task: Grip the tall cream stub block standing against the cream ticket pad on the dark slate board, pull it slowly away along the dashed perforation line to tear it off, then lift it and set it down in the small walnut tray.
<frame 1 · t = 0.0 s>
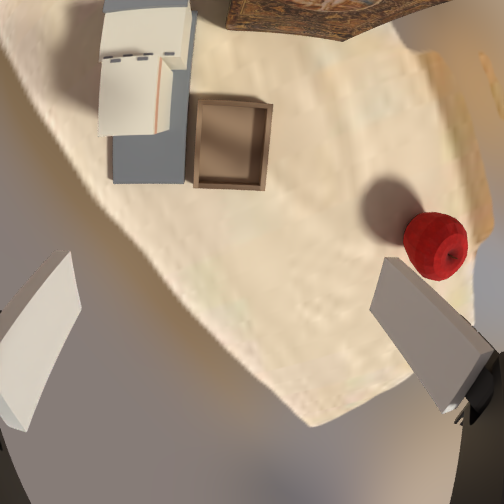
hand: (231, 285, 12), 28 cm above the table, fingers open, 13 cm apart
ticket pad: (155, 43, 29), resting on board
book: (290, 16, 30), on the table
stub: (150, 101, 32), point 1 cm above the table, touching board
tray: (231, 143, 36), on the table
apple: (414, 230, 45), on the table
board: (152, 94, 32), on the table
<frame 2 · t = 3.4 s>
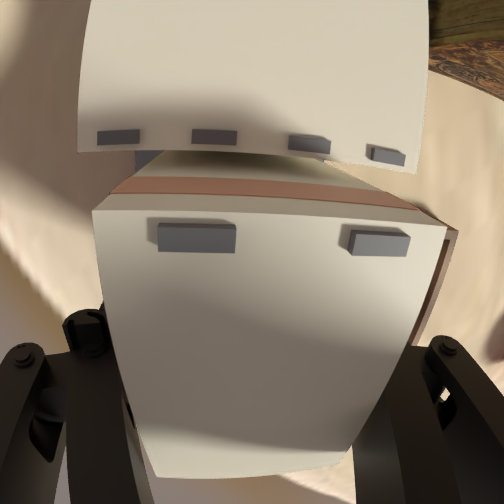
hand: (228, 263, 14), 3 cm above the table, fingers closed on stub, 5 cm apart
ticket pad: (239, 62, 12), resting on board
book: (474, 54, 14), on the table
stub: (227, 214, 15), point 1 cm above the table, touching board, gripper
tray: (372, 289, 20), on the table
board: (227, 191, 16), on the table
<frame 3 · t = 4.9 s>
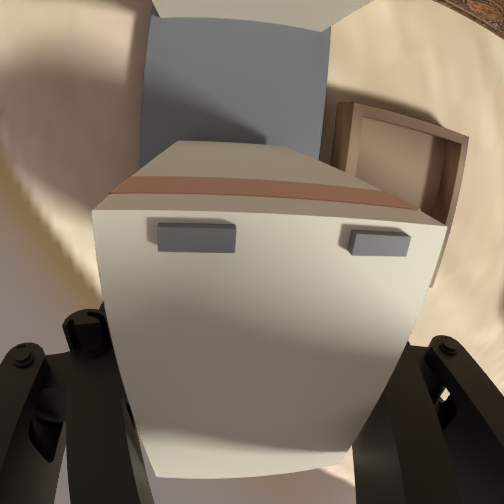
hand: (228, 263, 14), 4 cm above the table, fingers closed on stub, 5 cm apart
stub: (227, 214, 15), point 2 cm above the table, touching gripper
tray: (387, 199, 18), on the table
board: (235, 77, 14), on the table
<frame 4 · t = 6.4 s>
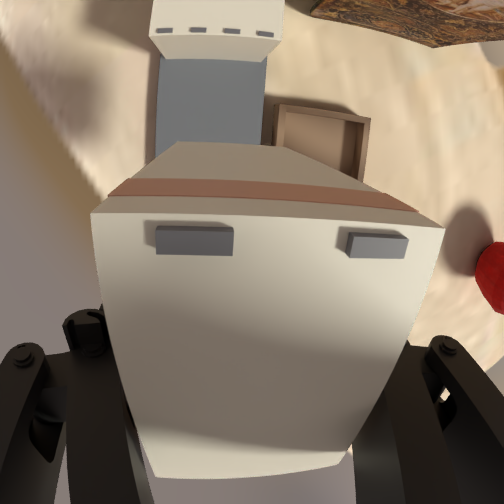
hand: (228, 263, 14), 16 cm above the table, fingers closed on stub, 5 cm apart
ticket pad: (216, 23, 21), resting on board
book: (379, 10, 22), on the table
stub: (227, 215, 15), point 14 cm above the table, touching gripper
tray: (314, 164, 28), on the table
apple: (483, 259, 37), on the table
board: (210, 93, 24), on the table
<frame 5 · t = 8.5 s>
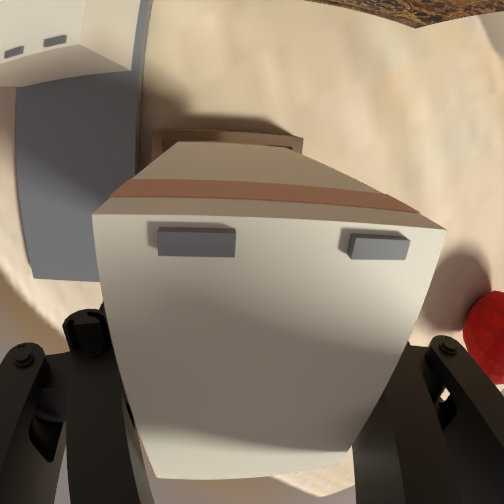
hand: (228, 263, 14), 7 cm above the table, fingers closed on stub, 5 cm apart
ticket pad: (77, 26, 13), resting on board
stub: (227, 215, 15), point 5 cm above the table, touching gripper
tray: (221, 210, 20), on the table
apple: (475, 309, 29), on the table
board: (76, 122, 16), on the table
when the fingers open (4 cm above the table, at t = 9.9 s): stub stays where it is, resting on tray.
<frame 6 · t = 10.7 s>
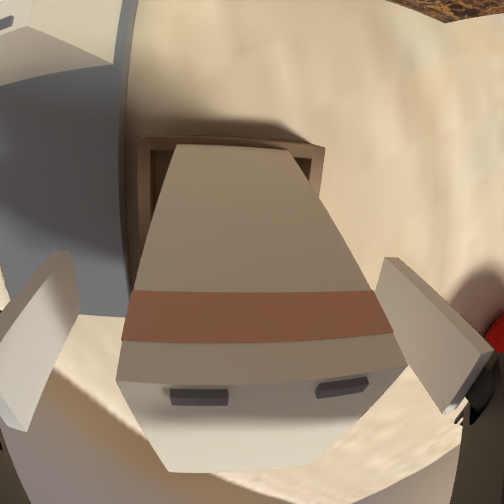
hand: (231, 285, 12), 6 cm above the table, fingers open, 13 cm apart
ticket pad: (52, 15, 9), resting on board
stub: (227, 213, 15), point 1 cm above the table, tilted 13°, touching tray
tray: (224, 233, 17), on the table
apple: (493, 328, 26), on the table
board: (51, 128, 13), on the table
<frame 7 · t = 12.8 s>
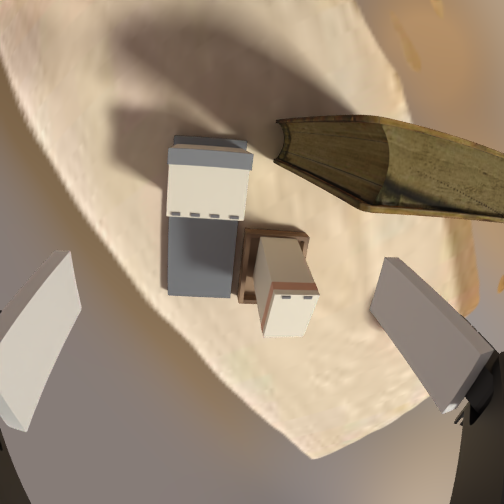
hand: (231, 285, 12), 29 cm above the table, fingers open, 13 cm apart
ticket pad: (207, 173, 37), resting on board
book: (330, 145, 40), on the table
stub: (274, 258, 43), point 1 cm above the table, tilted 13°, touching tray
tray: (270, 265, 45), on the table
board: (203, 220, 41), on the table
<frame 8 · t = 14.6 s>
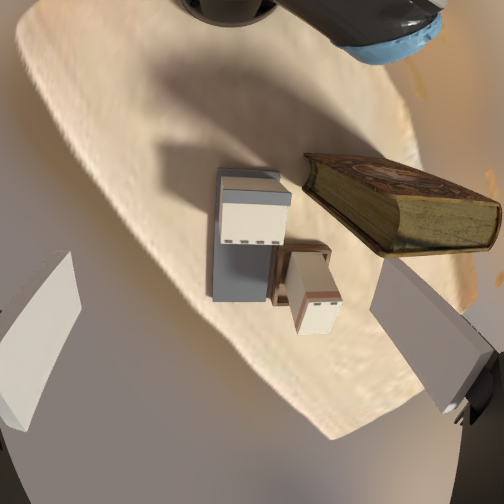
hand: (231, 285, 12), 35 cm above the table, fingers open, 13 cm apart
ticket pad: (247, 200, 45), resting on board
book: (348, 172, 47), on the table
stub: (302, 268, 51), point 1 cm above the table, tilted 13°, touching tray
tray: (298, 273, 53), on the table
board: (243, 238, 49), on the table
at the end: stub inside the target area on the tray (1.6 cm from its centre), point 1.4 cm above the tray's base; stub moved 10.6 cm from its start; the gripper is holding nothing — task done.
